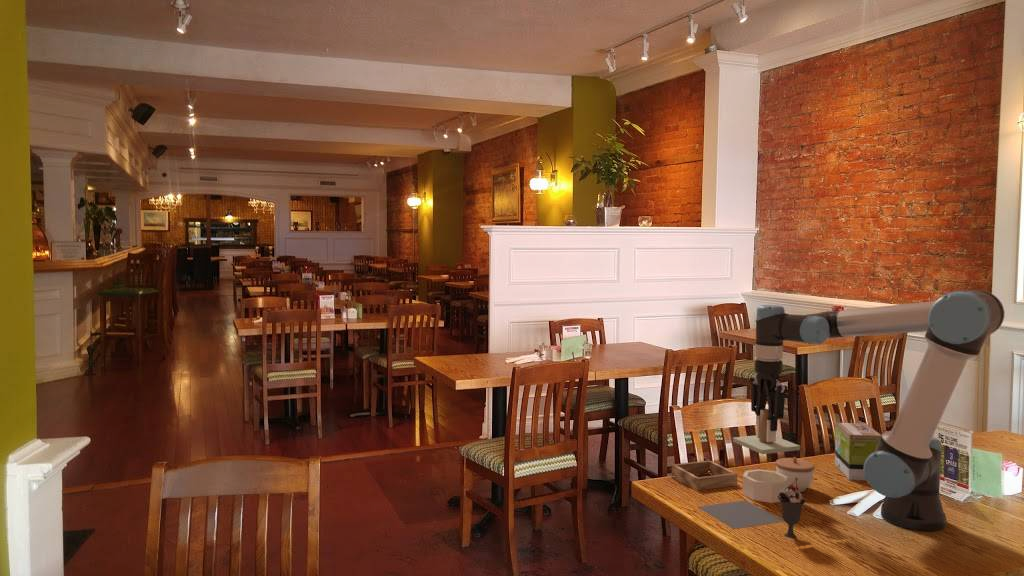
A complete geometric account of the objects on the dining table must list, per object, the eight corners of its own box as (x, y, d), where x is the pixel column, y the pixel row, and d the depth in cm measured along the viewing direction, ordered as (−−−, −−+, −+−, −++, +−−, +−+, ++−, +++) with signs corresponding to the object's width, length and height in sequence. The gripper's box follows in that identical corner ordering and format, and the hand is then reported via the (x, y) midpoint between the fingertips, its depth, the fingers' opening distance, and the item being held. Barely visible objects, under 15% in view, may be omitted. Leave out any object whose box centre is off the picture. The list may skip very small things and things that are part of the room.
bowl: (795, 501, 204) (796, 480, 204) (761, 506, 200) (761, 485, 200) (768, 487, 215) (768, 468, 215) (735, 492, 212) (735, 472, 211)
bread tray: (737, 486, 216) (737, 473, 216) (697, 492, 211) (697, 478, 211) (709, 472, 229) (710, 460, 229) (671, 477, 225) (671, 464, 224)
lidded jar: (819, 495, 210) (820, 463, 209) (782, 494, 210) (783, 463, 209) (805, 482, 220) (806, 452, 220) (770, 482, 220) (770, 452, 220)
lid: (800, 450, 203) (801, 413, 202) (761, 454, 199) (763, 417, 198) (769, 437, 215) (770, 403, 214) (732, 441, 211) (733, 406, 210)
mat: (784, 523, 188) (784, 521, 188) (733, 531, 183) (733, 529, 183) (746, 502, 203) (746, 500, 203) (697, 509, 198) (697, 506, 198)
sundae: (803, 534, 181) (805, 476, 180) (805, 545, 175) (807, 485, 174) (776, 531, 183) (777, 473, 182) (776, 541, 177) (778, 481, 176)
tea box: (833, 465, 237) (834, 421, 236) (865, 466, 236) (867, 422, 235) (848, 480, 222) (849, 433, 221) (882, 482, 221) (884, 434, 220)
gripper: (799, 363, 199) (797, 446, 200) (760, 354, 214) (758, 431, 216) (777, 364, 196) (774, 448, 198) (739, 355, 212) (737, 433, 213)
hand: (766, 439), depth 207 cm, fingers closed on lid, 4 cm apart
